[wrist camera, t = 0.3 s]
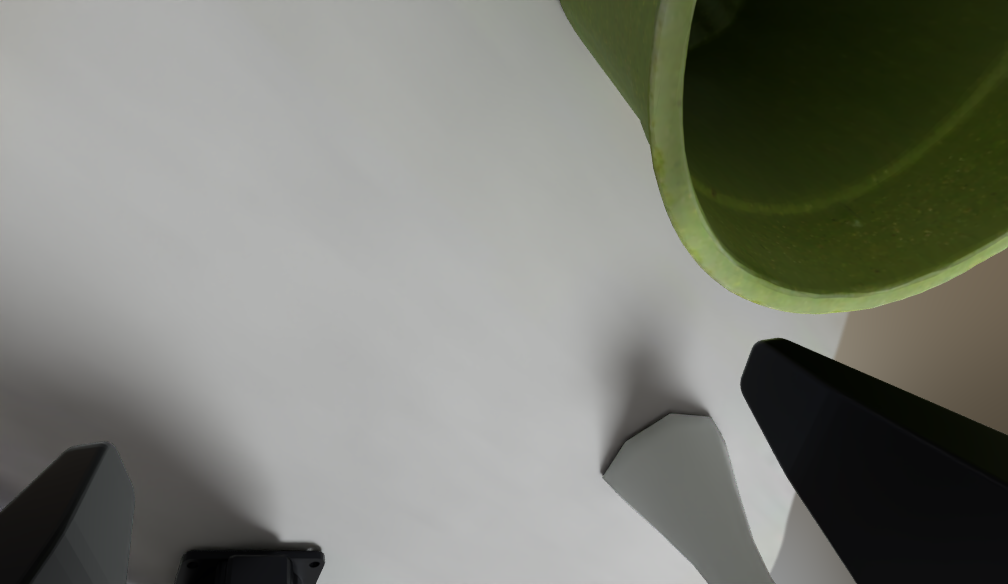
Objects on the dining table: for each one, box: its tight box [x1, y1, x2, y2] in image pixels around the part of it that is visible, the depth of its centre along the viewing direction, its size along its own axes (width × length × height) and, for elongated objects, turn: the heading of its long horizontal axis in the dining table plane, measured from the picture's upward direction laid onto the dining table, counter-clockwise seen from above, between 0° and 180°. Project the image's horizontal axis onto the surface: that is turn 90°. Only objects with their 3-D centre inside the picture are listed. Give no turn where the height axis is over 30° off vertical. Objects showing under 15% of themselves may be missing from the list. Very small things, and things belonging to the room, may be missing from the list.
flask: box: [602, 413, 775, 584], centre depth 30 cm, size 7×7×10 cm
